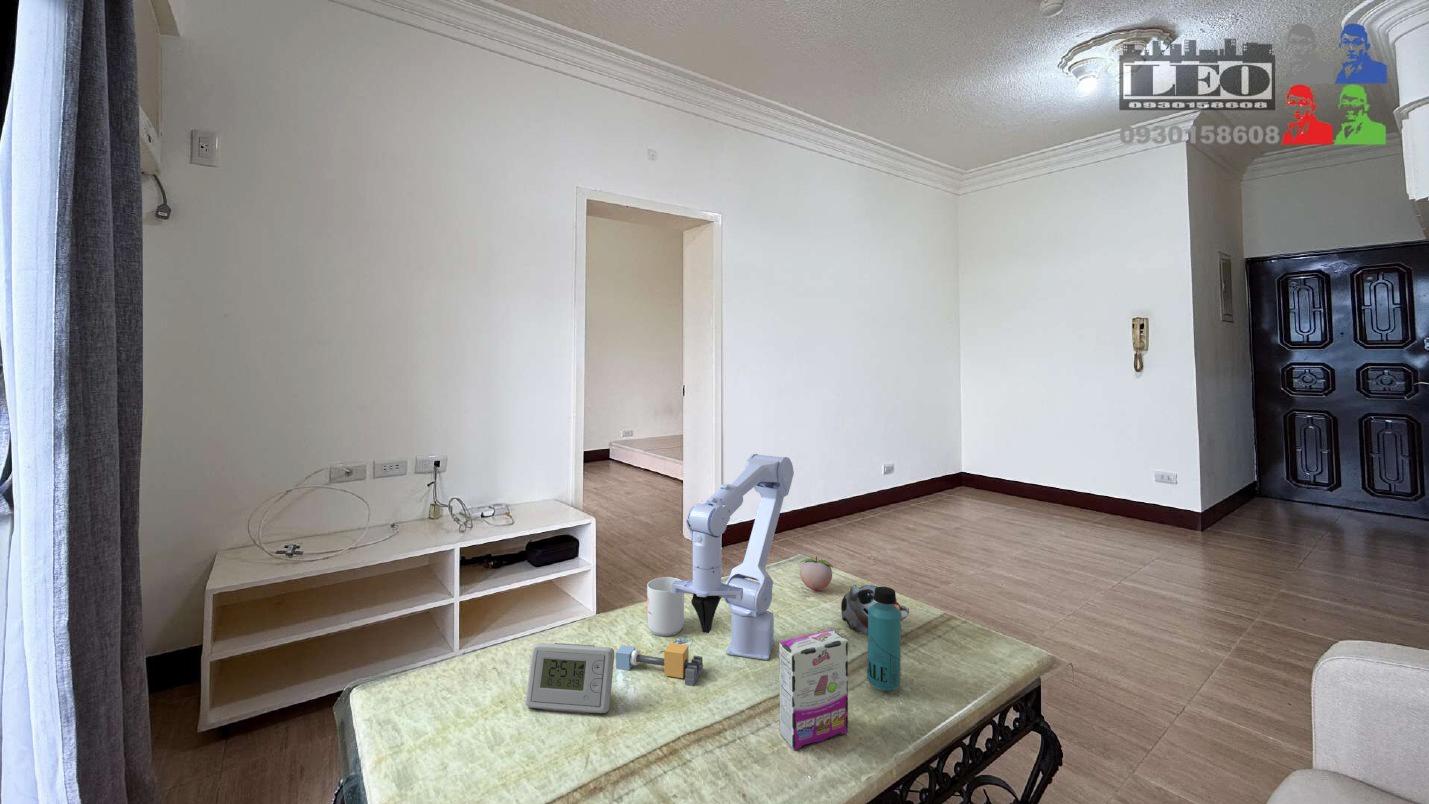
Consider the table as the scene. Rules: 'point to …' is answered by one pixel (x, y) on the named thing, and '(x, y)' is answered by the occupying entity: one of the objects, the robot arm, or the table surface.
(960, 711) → the table surface
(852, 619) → the grey black rounded piece
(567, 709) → the digital clock
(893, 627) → the beverage bottle
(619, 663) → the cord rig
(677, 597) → the mug
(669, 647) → the sleeve
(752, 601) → the robot arm
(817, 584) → the decorative fruit
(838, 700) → the candy bar box
